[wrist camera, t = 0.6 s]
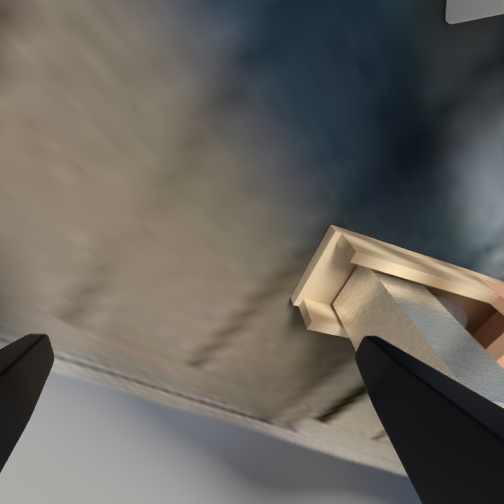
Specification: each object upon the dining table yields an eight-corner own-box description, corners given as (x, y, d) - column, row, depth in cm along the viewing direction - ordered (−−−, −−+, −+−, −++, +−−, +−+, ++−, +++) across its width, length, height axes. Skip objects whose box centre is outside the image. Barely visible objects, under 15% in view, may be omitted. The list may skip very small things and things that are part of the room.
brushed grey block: (332, 303, 23) (406, 452, 14) (362, 258, 21) (471, 398, 12) (419, 325, 25) (530, 463, 16) (453, 286, 23) (602, 419, 14)
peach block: (422, 335, 26) (464, 389, 22) (475, 276, 23) (537, 325, 19) (471, 346, 28) (519, 399, 23) (527, 292, 25) (595, 341, 20)
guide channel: (290, 296, 24) (300, 327, 21) (330, 224, 21) (349, 249, 18) (463, 338, 29) (490, 368, 26) (516, 285, 26) (554, 312, 23)
